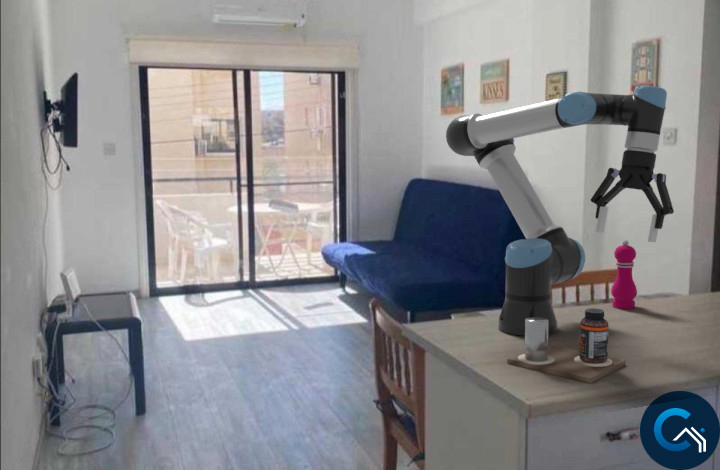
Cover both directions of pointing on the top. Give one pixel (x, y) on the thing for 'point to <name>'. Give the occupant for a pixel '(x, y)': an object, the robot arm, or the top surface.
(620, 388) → the top surface
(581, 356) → the supplement bottle
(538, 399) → the top surface
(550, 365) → the board
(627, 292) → the pepper mill
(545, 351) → the pin
